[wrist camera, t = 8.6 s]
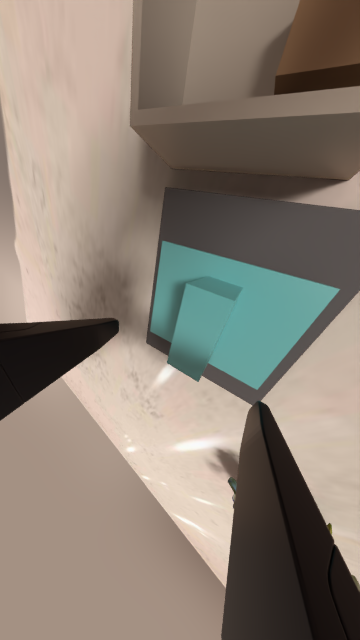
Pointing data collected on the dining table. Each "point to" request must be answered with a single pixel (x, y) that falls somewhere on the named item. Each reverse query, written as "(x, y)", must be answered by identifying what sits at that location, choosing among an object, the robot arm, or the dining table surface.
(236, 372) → the lid
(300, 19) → the walnut block
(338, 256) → the rubber mat
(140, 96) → the storage box
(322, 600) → the robot arm
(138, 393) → the dining table surface
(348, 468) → the dining table surface
